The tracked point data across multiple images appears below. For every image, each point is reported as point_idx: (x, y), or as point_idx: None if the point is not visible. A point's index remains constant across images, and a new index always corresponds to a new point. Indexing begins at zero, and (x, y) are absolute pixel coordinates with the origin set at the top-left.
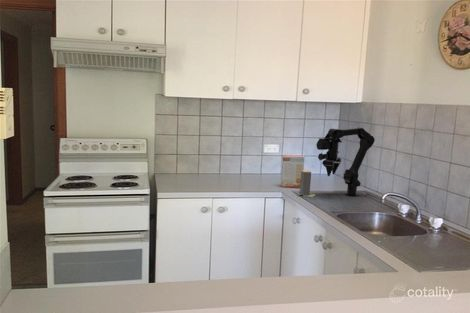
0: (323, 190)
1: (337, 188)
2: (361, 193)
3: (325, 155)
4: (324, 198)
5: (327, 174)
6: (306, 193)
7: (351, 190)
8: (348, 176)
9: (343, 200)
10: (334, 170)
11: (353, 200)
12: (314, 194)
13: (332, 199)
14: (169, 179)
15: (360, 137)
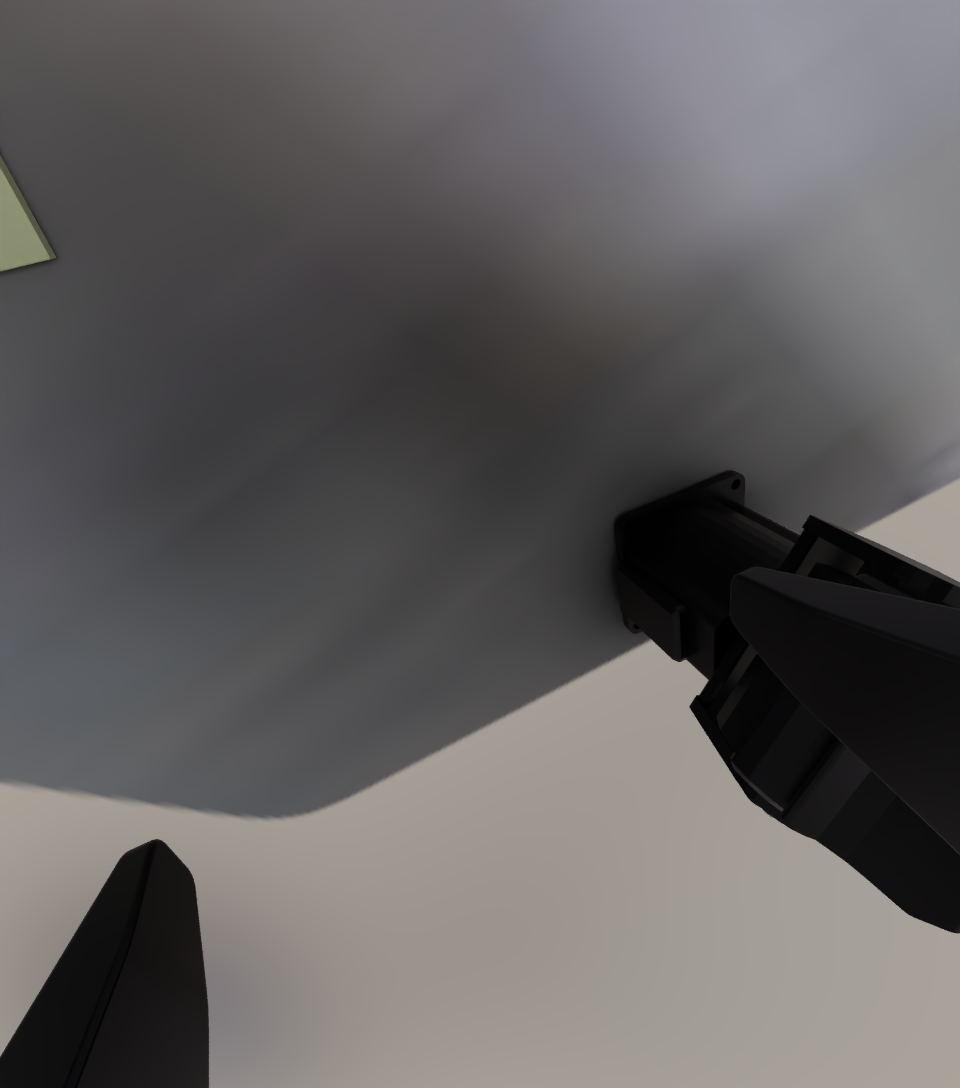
0: (654, 64)
1: (929, 174)
2: None
3: None
4: (72, 526)
5: (78, 931)
6: None
7: (655, 635)
8: (803, 786)
9: (296, 720)
10: (857, 715)
11: (420, 751)
12: (29, 218)
13: (174, 630)
14: None
15: None
